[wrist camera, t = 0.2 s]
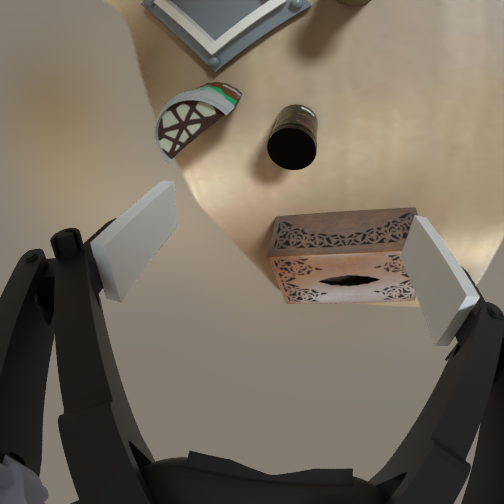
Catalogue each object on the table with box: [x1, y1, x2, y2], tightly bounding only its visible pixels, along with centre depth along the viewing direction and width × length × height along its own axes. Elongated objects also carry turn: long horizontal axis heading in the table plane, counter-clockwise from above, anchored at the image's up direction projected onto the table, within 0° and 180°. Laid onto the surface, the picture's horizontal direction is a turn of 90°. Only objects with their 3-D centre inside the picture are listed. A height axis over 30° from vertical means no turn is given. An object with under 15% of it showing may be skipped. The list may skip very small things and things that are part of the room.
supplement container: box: [267, 105, 318, 170], centre depth 34 cm, size 6×6×9 cm
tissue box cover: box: [267, 208, 418, 304], centre depth 50 cm, size 26×14×10 cm, turn 108°
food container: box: [155, 82, 242, 163], centre depth 34 cm, size 12×6×10 cm, turn 130°
